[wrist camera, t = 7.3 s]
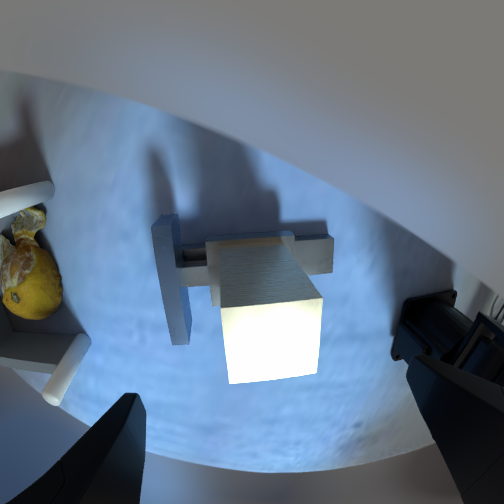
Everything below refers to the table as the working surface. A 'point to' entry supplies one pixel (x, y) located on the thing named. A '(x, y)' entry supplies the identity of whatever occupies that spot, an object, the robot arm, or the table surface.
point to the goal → (39, 344)
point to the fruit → (29, 270)
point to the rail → (306, 253)
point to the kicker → (245, 299)
